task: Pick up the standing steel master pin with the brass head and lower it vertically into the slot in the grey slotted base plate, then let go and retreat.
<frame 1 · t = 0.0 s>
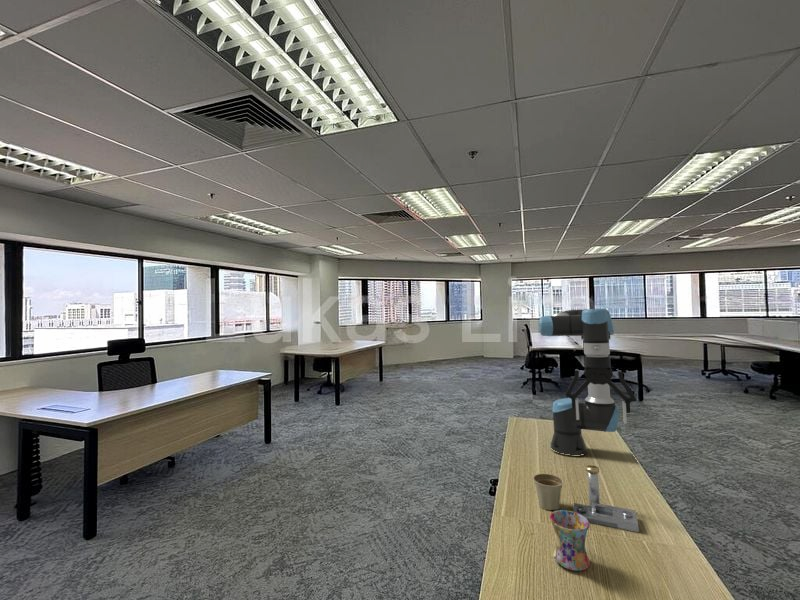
hand: (600, 420, 118), 28 cm above the table, fingers open, 13 cm apart
grey slotted base plate: (604, 518, 111), on the table
flower pot: (549, 506, 120), on the table
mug: (570, 559, 94), on the table
master pin: (594, 504, 120), on the table
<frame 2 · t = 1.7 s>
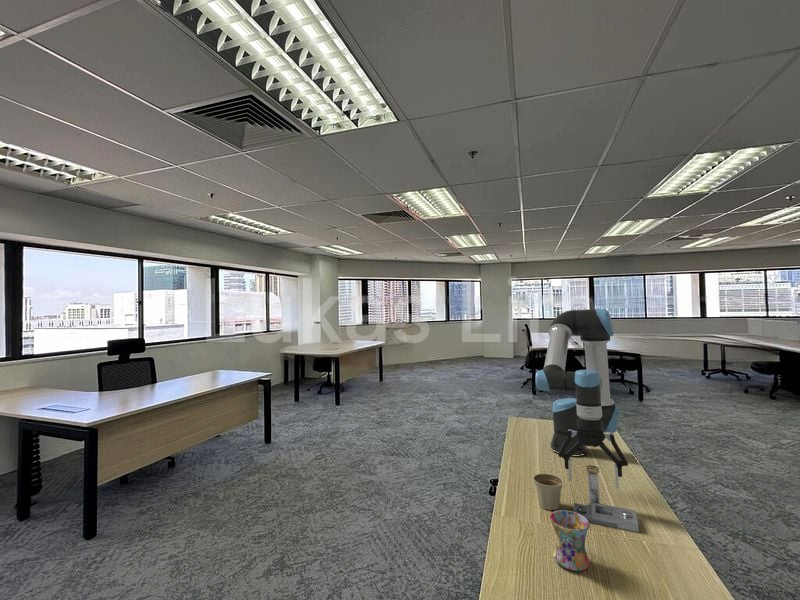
hand: (593, 482, 120), 7 cm above the table, fingers open, 13 cm apart
nothing on the table moved.
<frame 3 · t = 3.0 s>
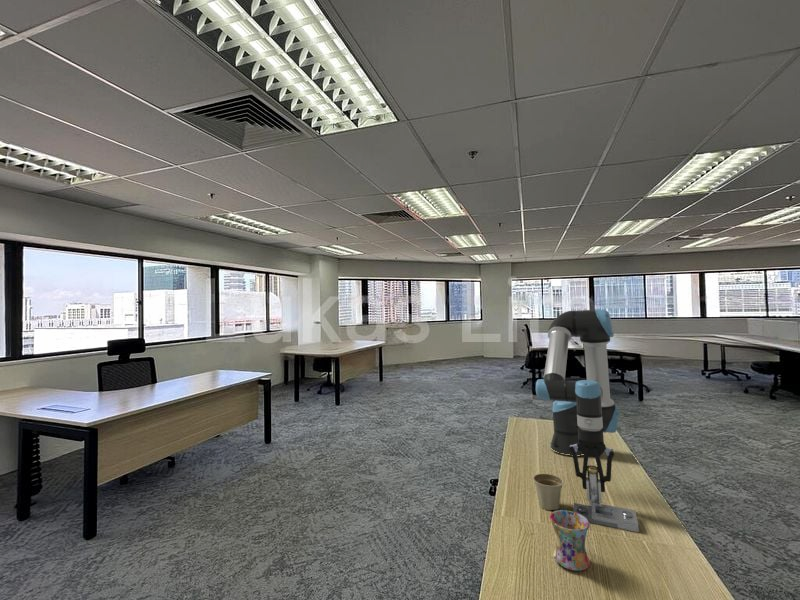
hand: (594, 499, 120), 2 cm above the table, fingers closed on master pin, 3 cm apart
master pin: (594, 504, 120), on the table, touching gripper
everything else where it was.
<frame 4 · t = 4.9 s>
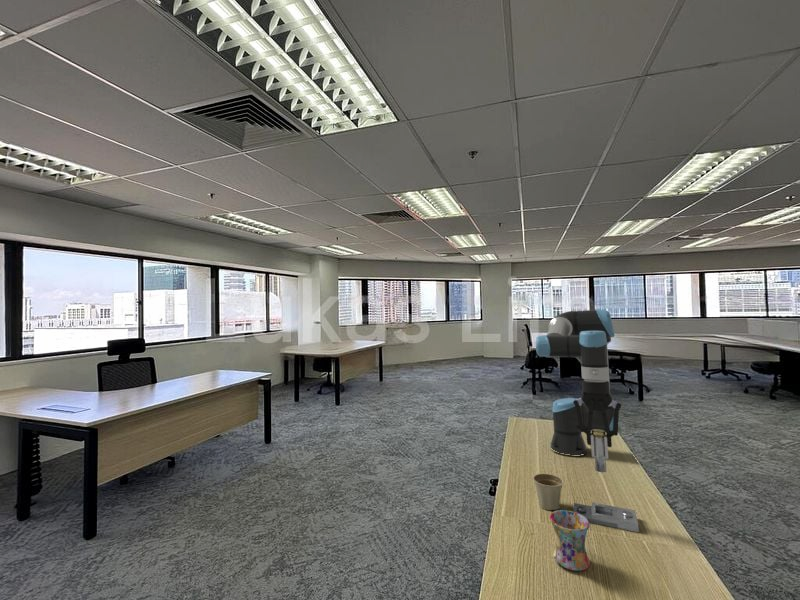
hand: (599, 456, 112), 19 cm above the table, fingers closed on master pin, 3 cm apart
master pin: (600, 470, 112), point 15 cm above the table, touching gripper
everything else where it was.
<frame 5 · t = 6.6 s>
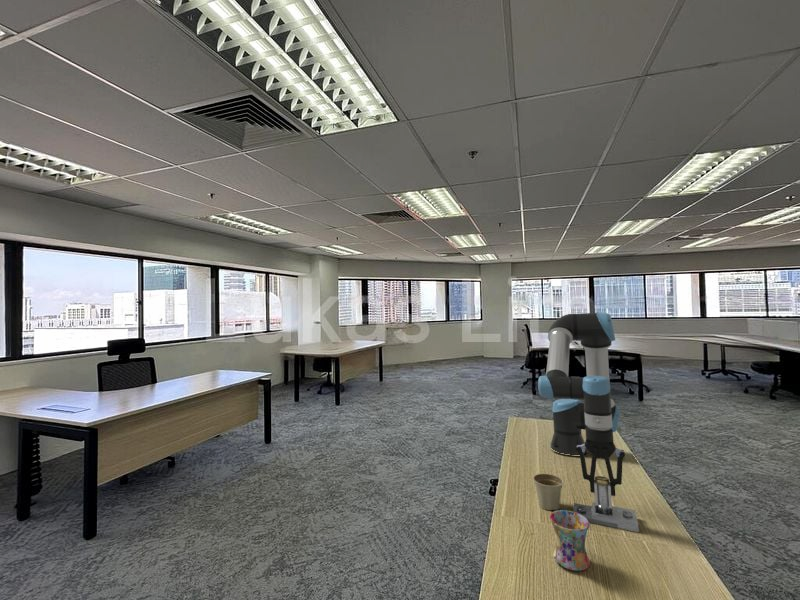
hand: (603, 504, 111), 4 cm above the table, fingers closed on master pin, 3 cm apart
master pin: (604, 518, 111), resting in grey slotted base plate, touching gripper
everything else where it was.
when the fingers open (3 cm above the table, at t = 7.0 s): master pin stays where it is, resting in grey slotted base plate.
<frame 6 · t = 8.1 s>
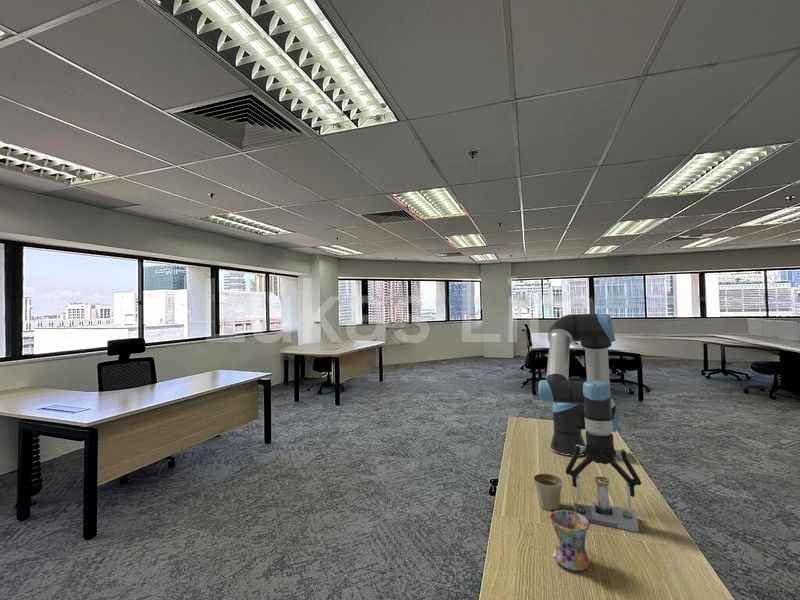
hand: (603, 502, 112), 5 cm above the table, fingers open, 13 cm apart
master pin: (604, 519, 111), resting in grey slotted base plate
everything else where it was.
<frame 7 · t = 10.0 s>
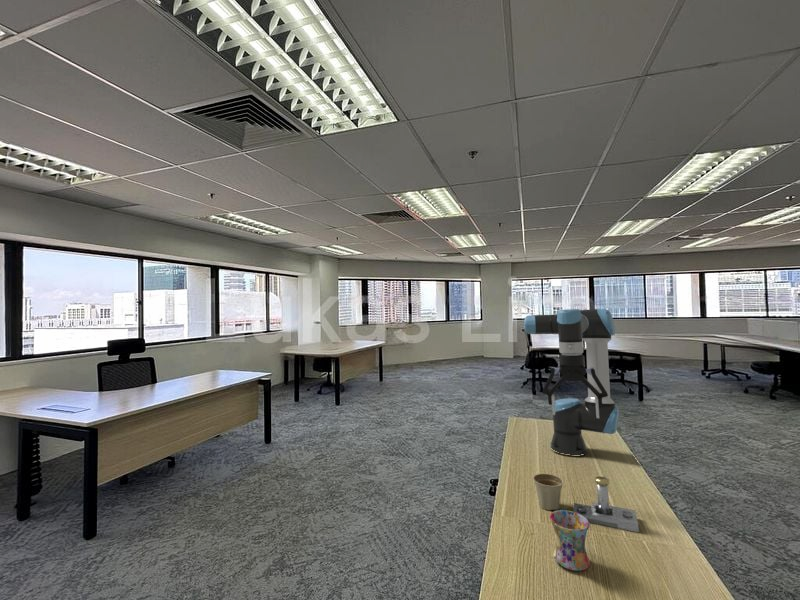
hand: (575, 415, 125), 28 cm above the table, fingers open, 13 cm apart
nothing on the table moved.
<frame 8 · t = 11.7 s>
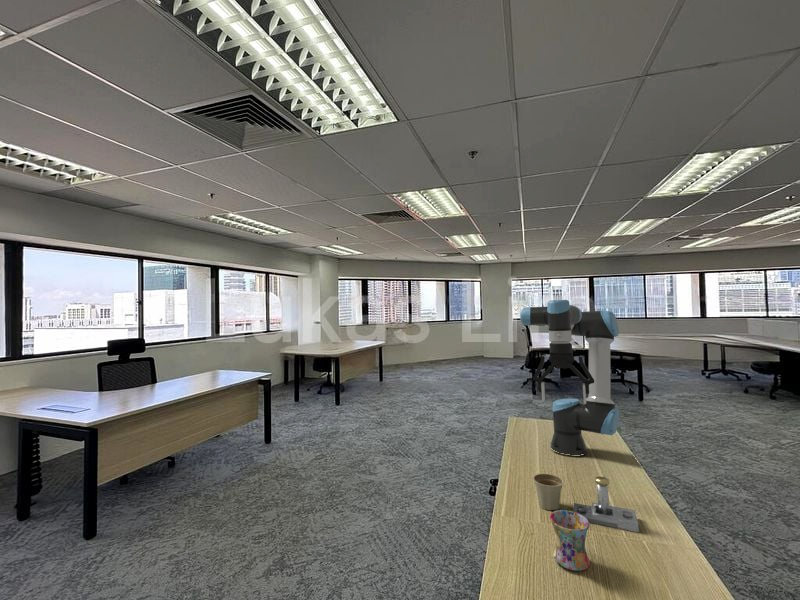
hand: (563, 401, 130), 32 cm above the table, fingers open, 13 cm apart
nothing on the table moved.
at the end: master pin 0.2 cm off-centre on the grey slotted base plate, point 0.0 cm above the grey slotted base plate's base; master pin tilted 0°; the gripper is holding nothing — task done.
